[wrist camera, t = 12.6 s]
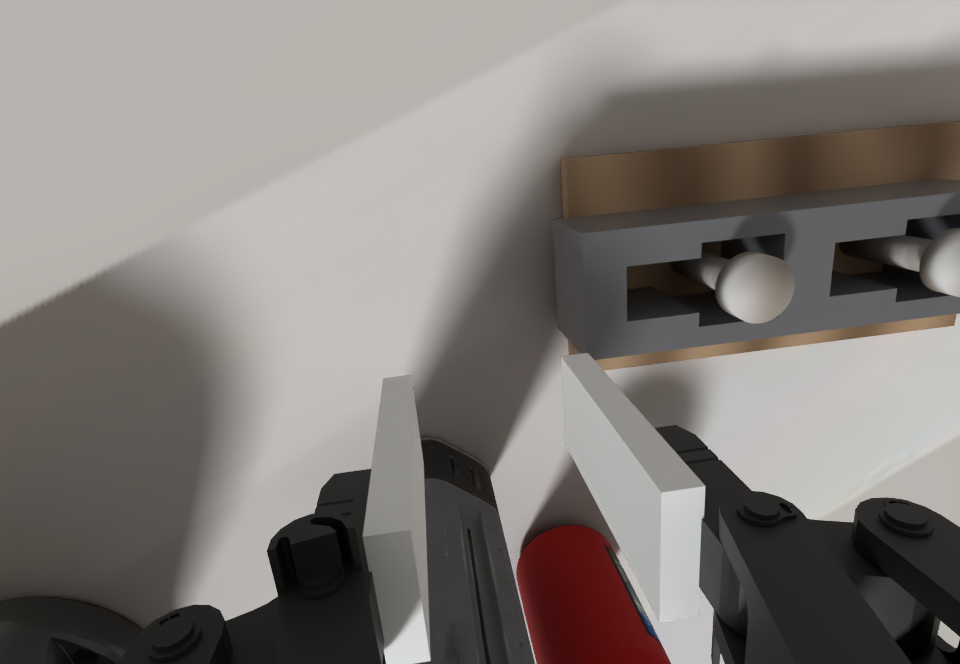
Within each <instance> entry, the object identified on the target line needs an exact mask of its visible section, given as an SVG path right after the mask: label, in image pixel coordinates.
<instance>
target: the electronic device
mask: <svg viewBox="0 0 960 664" xmlns="http://www.w3.org/2000/svg"><path fill="white" fill-rule="evenodd" d="M420 440H421V447H422V455H423V462H424V487H425V515H426V543H427V572H428V600H429V628H430V656H431V661H428V662H422V663H416V664H535V662H534V658H533V654H532V650H531V646H530V642H529V637H528V633H527V629H526V625H525V621H524V616H523V612H522V608H521V604H520V600H519V596H518V591H517V587H516V583H515V579H514V575H513V571H512V566H511V562H510V558H509V554H508V550H507V546H506V541H505V537H504V533H503V529H502V525H501V521H500V517H499V512H498V508H497V504H496V500H495V496H494V491H493V487H492V483H491V479H490V475H489V471H488V469H487V467H486V466H485V465H484V464H483V463H482V462H481V461H479V460H478V459H476V458H474V457H472V456H471V455H469V454H467V453H465V452H463V451H461V450H459V449H458V448H456V447H454V446H452V445H450V444H448V443H447V442H445V441H443V440H440V439H438V438H433V437H424V438H420ZM383 664H386V661H385V655H384V651H383Z"/></svg>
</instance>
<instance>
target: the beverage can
mask: <svg viewBox="0 0 960 664" xmlns="http://www.w3.org/2000/svg"><path fill="white" fill-rule="evenodd" d="M517 581H518V586H519V590H520V595H521V599H522V603H523V608H524V612H525V616H526V621H527V625H528V629H529V633H530V637H531V641H532V646H533V650H534V654H535V658H536V662H537V664H671V663H670V661H669V659H668V657H667V655H666V653H665V650H664V648H663V646H662V645H661V642H660V640H659V639H658V636H657V634H656V632H655V630H654V628H653V626H652V624H651V622H650V620H649V618H648V616H647V614H646V613H645V611H644V609H643V607H642V605H641V603H640V601H639V599H638V597H637V595H636V593H635V591H634V589H633V587H632V585H631V583H630V581H629V579H628V577H627V575H626V573H625V572H624V570H623V568H622V566H621V564H620V562H619V560H618V558H617V556H616V555H615V553H614V551H613V549H612V547H611V545H610V544H609V542H608V541H607V540H606V538H605V537H604V536H602V535H601V534H600V533H598V532H597V531H595V530H593V529H591V528H588V527H584V526H578V525H567V526H560V527H556V528H553V529H550V530H548V531H546V532H544V533H542V534H540V535H539V536H537V537H536V538H535V539H534V540H532V541H531V542H530V543H529V544H528V545H527V547H526V548H525V549H524V551H523V552H522V554H521V556H520V558H519V561H518V565H517Z"/></svg>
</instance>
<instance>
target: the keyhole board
mask: <svg viewBox="0 0 960 664" xmlns="http://www.w3.org/2000/svg"><path fill="white" fill-rule="evenodd" d="M930 179H948V180H960V121H952V122H941V123H931V124H921V125H910V126H900V127H889V128H879V129H868V130H858V131H848V132H837V133H827V134H816V135H806V136H796V137H785V138H775V139H764V140H754V141H743V142H733V143H723V144H712V145H702V146H691V147H681V148H671V149H660V150H650V151H639V152H629V153H618V154H608V155H598V156H587V157H577V158H566V159H561V180H562V204H563V219H564V218H573V217H582V216H592V215H601V214H611V213H620V212H629V211H639V210H648V209H657V208H667V207H676V206H686V205H695V204H704V203H714V202H723V201H733V200H742V199H751V198H761V197H770V196H779V195H789V194H798V193H808V192H817V191H826V190H836V189H845V188H855V187H864V186H873V185H883V184H892V183H901V182H911V181H920V180H930ZM883 264H888V265H892V266H896V267H901V268H905V269H909V270H914V271H918V272H919V273H920V278H921V280H922V282H923V283H924V285H925V286H926V287H927V288H929V289H931V290H933V291H937V292H941V293H944V294H948V295H952V296H956V297H960V228H954V229H950V230H947V231H944V232H942V233H941V234H939V235H938V236H936V237H935V238H934V239H933V240H931V239H925V238H919V237H912V236H906V235H898V236H890V237H881V238H872V239H863V240H855V241H846V242H837V243H835V250H834V259H833V268H832V271H836V272H839V273H843V274H847V275H853V274H861V273H869V272H878V271H882V266H883ZM644 287H653V288H655V289H657V290H659V291H661V292H662V293H664V294H666V295H668V296H678V295H686V294H694V293H703V292H711V291H715V295H716V299H717V301H718V304H719V305H720V307H721V308H722V309H723V310H724V311H726V312H727V313H729V314H731V315H733V316H735V317H737V318H739V319H741V320H743V321H745V322H748V323H754V324H757V323H764V322H767V321H770V320H772V319H774V318H775V317H777V316H778V315H780V314H781V313H782V312H783V311H784V310H785V308H786V307H787V306H788V304H789V303H790V301H791V299H792V296H793V293H794V288H795V279H794V274H793V272H792V270H791V268H790V266H789V265H788V264H787V263H786V262H785V261H783V260H782V259H780V258H777V257H774V256H770V255H766V254H763V253H759V252H744V253H741V254H739V255H736V256H735V257H733V258H732V259H730V260H729V259H726V258H723V257H721V241H713V242H704V243H702V248H701V258H698V259H689V260H680V261H672V262H663V263H654V264H646V265H637V266H628V267H627V289H636V288H644ZM955 319H956V314H950V315H943V316H935V317H927V318H919V319H911V320H904V321H896V322H888V323H880V324H872V325H865V326H857V327H849V328H841V329H833V330H826V331H818V332H810V333H802V334H794V335H787V336H779V337H771V338H763V339H755V340H748V341H740V342H732V343H724V344H716V345H708V346H701V347H693V348H685V349H677V350H669V351H662V352H654V353H646V354H638V355H630V356H623V357H615V358H607V359H599V360H594V361H595V362H596V363H597V364H598V365H599V366H600V367H601V368H602V370H611V369H619V368H627V367H635V366H642V365H650V364H658V363H666V362H674V361H681V360H689V359H697V358H705V357H713V356H720V355H728V354H736V353H744V352H752V351H759V350H767V349H775V348H783V347H790V346H798V345H806V344H814V343H822V342H829V341H837V340H845V339H853V338H861V337H868V336H876V335H884V334H892V333H900V332H907V331H915V330H923V329H931V328H939V327H946V326H954V324H955ZM568 348H569V355H575V354H580V353H579V352H578V351H577V350H576V348H575V347H574V346H573V345H572V344H571V342H570V341H569V340H568Z"/></svg>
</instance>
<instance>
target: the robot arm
mask: <svg viewBox="0 0 960 664" xmlns="http://www.w3.org/2000/svg"><path fill="white" fill-rule="evenodd" d="M561 367H562V389H563V410H564V432H565V444H566V446H567V448H568V450H569V452H570V454H571V456H572V458H573V460H574V462H575V463H576V465H577V467H578V469H579V471H580V473H581V475H582V477H583V479H584V480H585V482H586V484H587V486H588V488H589V490H590V492H591V494H592V496H593V498H594V499H595V501H596V503H597V505H598V507H599V509H600V511H601V513H602V515H603V517H604V518H605V520H606V522H607V524H608V526H609V528H610V530H611V532H612V534H613V535H614V537H615V539H616V541H617V543H618V545H619V547H620V549H621V551H622V553H623V554H624V556H625V558H626V560H627V562H628V564H629V566H630V568H631V570H632V571H633V573H634V575H635V577H636V579H637V581H638V583H639V585H640V587H641V589H642V590H643V592H644V594H645V596H646V598H647V600H648V602H649V604H650V606H651V608H652V609H653V611H654V613H655V615H656V617H657V619H658V621H659V623H660V622H666V621H672V620H678V619H684V618H690V617H696V616H700V600H701V590H702V592H703V593H704V595H705V596H706V598H707V599H708V600H709V602H710V604H711V605H712V607H713V608H714V616H713V617H714V618H713V634H712V654H711V658H712V664H719V661H720V654H722V656H723V660H724V662H725V664H960V641H959V645H958V647H957V648H954V647H952V646H951V645H949V644H948V643H946V642H945V641H944V640H943V639H942V638H941V637H940V636H938V635H937V634H938V630H939V625H940V620H941V621H942V622H943V623H944V624H946V625H947V626H948V627H949V628H950V629H951V630H953V631H954V632H955V633H956V634H957V635H958V636H960V527H958V526H957V525H955V524H954V523H952V522H951V521H949V520H948V519H946V518H945V517H943V516H942V515H940V514H938V513H936V512H934V511H932V510H930V509H928V508H926V507H924V506H921V505H918V504H915V503H912V502H910V501H907V500H902V499H895V498H871V499H868V500H866V501H863V502H860V504H859V505H858V507H857V508H856V509H855V516H854V523H851V522H836V521H821V520H811V519H807V518H806V517H805V515H804V514H803V513H802V512H801V511H800V510H799V509H798V508H797V507H796V506H795V505H794V504H792V503H790V502H788V501H786V500H785V499H783V498H781V497H779V496H775V495H772V494H768V493H765V492H756V491H751V490H750V489H749V488H748V487H747V486H746V485H745V484H744V483H743V482H742V481H741V480H740V479H739V478H738V477H737V476H736V475H735V474H734V473H733V472H732V471H731V470H730V469H729V468H728V467H727V466H726V465H725V464H724V463H723V462H722V461H721V460H718V457H717V456H716V455H715V454H714V453H713V452H712V451H711V450H708V447H707V446H706V445H705V444H704V443H703V442H702V441H701V440H700V439H699V438H698V437H697V436H696V435H695V434H693V433H691V432H689V431H687V430H684V429H682V428H680V427H678V426H676V425H674V426H666V427H659V428H654V427H653V426H652V425H651V424H650V423H649V422H648V420H647V419H646V418H645V417H644V416H643V415H642V414H641V413H640V411H639V410H638V409H637V408H636V407H635V406H634V405H633V403H632V402H631V401H630V400H629V399H628V398H627V397H626V396H625V394H624V393H623V392H622V391H621V390H620V389H619V388H618V387H617V385H616V384H615V383H614V382H613V381H612V380H611V379H610V377H609V376H608V375H607V374H606V373H605V372H604V371H603V370H602V368H601V367H600V366H599V365H598V364H597V363H596V362H595V361H594V359H593V358H592V357H591V356H590V355H589V354H588V353H583V354H575V355H567V356H561ZM267 553H268V557H269V561H270V565H271V569H272V573H273V577H274V581H275V585H276V589H277V593H278V597H277V598H275V599H274V600H272V601H270V602H269V603H267V604H266V605H264V606H261V607H259V608H257V609H255V610H253V611H250V612H248V613H245V614H243V615H240V616H238V617H235V618H233V619H230V620H227V621H225V620H224V618H223V616H222V614H221V612H220V610H218V609H216V608H214V607H212V606H210V605H191V606H188V607H184V608H180V609H176V610H174V611H172V612H170V613H168V614H166V615H164V616H162V617H160V618H158V619H156V620H155V621H154V622H152V623H151V624H150V625H149V626H147V627H146V628H145V629H143V630H141V629H140V628H138V627H137V626H135V625H134V624H132V623H131V622H129V621H128V620H126V619H124V618H122V617H120V616H118V615H116V614H114V613H112V612H110V611H107V610H105V609H102V608H99V607H96V606H93V605H89V604H86V603H82V602H77V601H72V600H66V599H58V598H21V599H13V600H7V601H2V602H0V664H383V651H384V655H385V661H386V664H416V663H422V662H428V661H431V656H430V628H429V600H428V572H427V543H426V515H425V487H424V462H423V455H422V447H421V440H420V433H419V425H418V418H417V411H416V404H415V396H414V389H413V382H412V375H407V376H399V377H391V378H383V385H382V393H381V401H380V408H379V416H378V423H377V431H376V439H375V446H374V454H373V461H372V469H367V470H360V471H353V472H346V473H338V474H334V475H333V476H332V477H331V478H330V480H329V481H328V482H327V483H326V484H325V485H324V486H323V487H322V488H321V491H320V495H319V499H318V502H317V507H316V510H315V513H314V514H310V515H307V516H305V517H302V518H299V519H297V520H294V521H293V522H291V523H289V524H288V525H286V526H285V527H283V528H282V529H280V530H279V531H278V533H277V534H276V535H275V536H274V537H273V538H272V539H271V541H270V544H269V547H268V550H267Z"/></svg>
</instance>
